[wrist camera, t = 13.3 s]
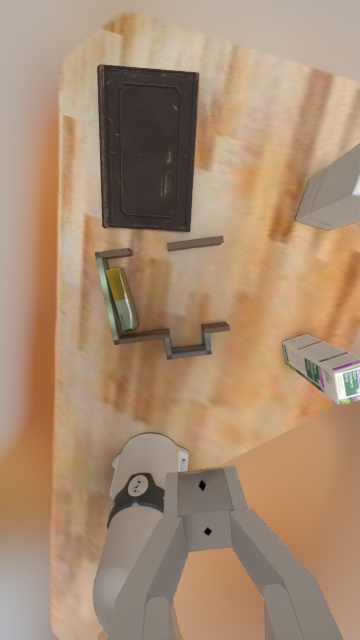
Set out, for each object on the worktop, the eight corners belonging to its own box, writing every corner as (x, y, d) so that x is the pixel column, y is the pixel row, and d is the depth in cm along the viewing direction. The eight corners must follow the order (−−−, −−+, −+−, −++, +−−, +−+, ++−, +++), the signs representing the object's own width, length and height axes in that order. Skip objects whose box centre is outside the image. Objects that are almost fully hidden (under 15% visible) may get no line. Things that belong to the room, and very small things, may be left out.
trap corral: (227, 346, 42) (231, 351, 39) (122, 359, 43) (118, 365, 40) (219, 239, 37) (223, 235, 35) (101, 254, 38) (94, 252, 35)
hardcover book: (197, 86, 33) (199, 72, 30) (189, 233, 38) (189, 231, 35) (101, 78, 32) (95, 63, 30) (105, 228, 37) (101, 225, 35)
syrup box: (280, 341, 42) (332, 374, 28) (307, 332, 42) (373, 361, 28) (285, 364, 44) (338, 407, 29) (312, 356, 43) (377, 395, 29)
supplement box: (328, 232, 38) (403, 211, 25) (293, 220, 37) (351, 193, 25) (345, 190, 36) (433, 146, 24) (309, 178, 35) (379, 126, 23)
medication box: (140, 325, 41) (137, 330, 37) (127, 328, 41) (123, 333, 37) (123, 267, 39) (118, 266, 35) (110, 270, 39) (103, 270, 35)
